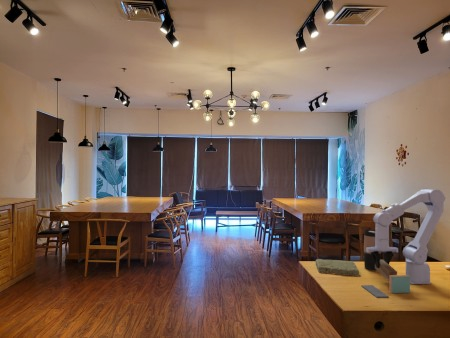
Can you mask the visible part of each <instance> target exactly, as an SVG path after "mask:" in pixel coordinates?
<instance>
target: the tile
mask: <svg viewBox="0 0 450 338" xmlns="http://www.w3.org/2000/svg"><path fill="white" fill-rule="evenodd" d="M388 283H389V284H388V285H389V286H388V287H389V289H388V292H389V293H391V294H410V293H411V283H410V276H408V275H406V274H397V275H389V281H388Z"/></svg>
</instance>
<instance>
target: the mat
mask: <svg viewBox="0 0 450 338" xmlns="http://www.w3.org/2000/svg"><path fill="white" fill-rule="evenodd" d="M361 287H362V288H363V289H364V290H365V291H367V292H368V293H370V294H371V295H372V296H374V297H375V298H377V299H379V298H385V299H386V298H389V295H387V294H386V293H384V292H383V291H382V290H380V289H378V288H377V287H376V286H374V285H373V284H371V285H370V284H365V285H364V284H362V285H361Z"/></svg>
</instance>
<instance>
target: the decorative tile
mask: <svg viewBox="0 0 450 338" xmlns="http://www.w3.org/2000/svg"><path fill="white" fill-rule="evenodd" d="M315 267H316V269H317V272H318V273H319V274H331V273H335V274H334V275H339V276H357V277H360V271H359V268H358V267H357V264H356V263H355V262H354V261H352V260H339V259H338V260H337V259H323V258H317V259H315Z"/></svg>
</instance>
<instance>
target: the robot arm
mask: <svg viewBox="0 0 450 338" xmlns="http://www.w3.org/2000/svg"><path fill="white" fill-rule="evenodd" d="M445 201H446V196H445V194H444V193H443V191H441V190H440V189H430V188H429V189H428V188H422V189H420V190H418V191H416V192H415V193H414V194H413V195H411V196H410V197H408V198H407V199H406V200H404V201H402V202H401V203H391V204H390V206H389V207H387V208H386V209H382V211H379V212H376V213H375V214H374V215H373V217H372V221H373V222H374V225H375V227H374V228H375V229H374V230H375V247H366V252H371V254H372V256H373V258H374V261H375V265H376V267H377V268H380V260H381V257H382V254H383V260H384V261H385V262H386V263H388V264H389V265H390V262H391V261H392V258H393V257H394V253H399V248H398V247H394V246H390V225H392V221H394V220H395V219H398V218H400V217H401V216H402V215H404V214H405V211H406V210H408V209H410V208H411V207H413V206H416V205H417V204H420V203H423V204H424V205H425V206H426V209H427V210H428V211H427V212H426V215H425V217H424V219H423V221H422V223H421V224H420V227H419V229H418V230H417V232H416V235H415V236H414V238H413V240H411V241H409V242H408V244H407V245H406V246H405V247H403V250H402V255H403V257H404V258H405V275H408V276H410V285H426V284H427V285H430V284H432V282H431V267H430V265H429V264H428V263H427V262H426V261H427V258H428V253H429V249H428V247H427V245H428V243H429V241H430V239H431V238H432V235H433V233H434V232H435V229H436V227H437V226H438V223H439V221H440V219H441V217H442V215H443V213H444V202H445ZM379 252H380V254H379ZM381 253H382V254H381Z"/></svg>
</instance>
